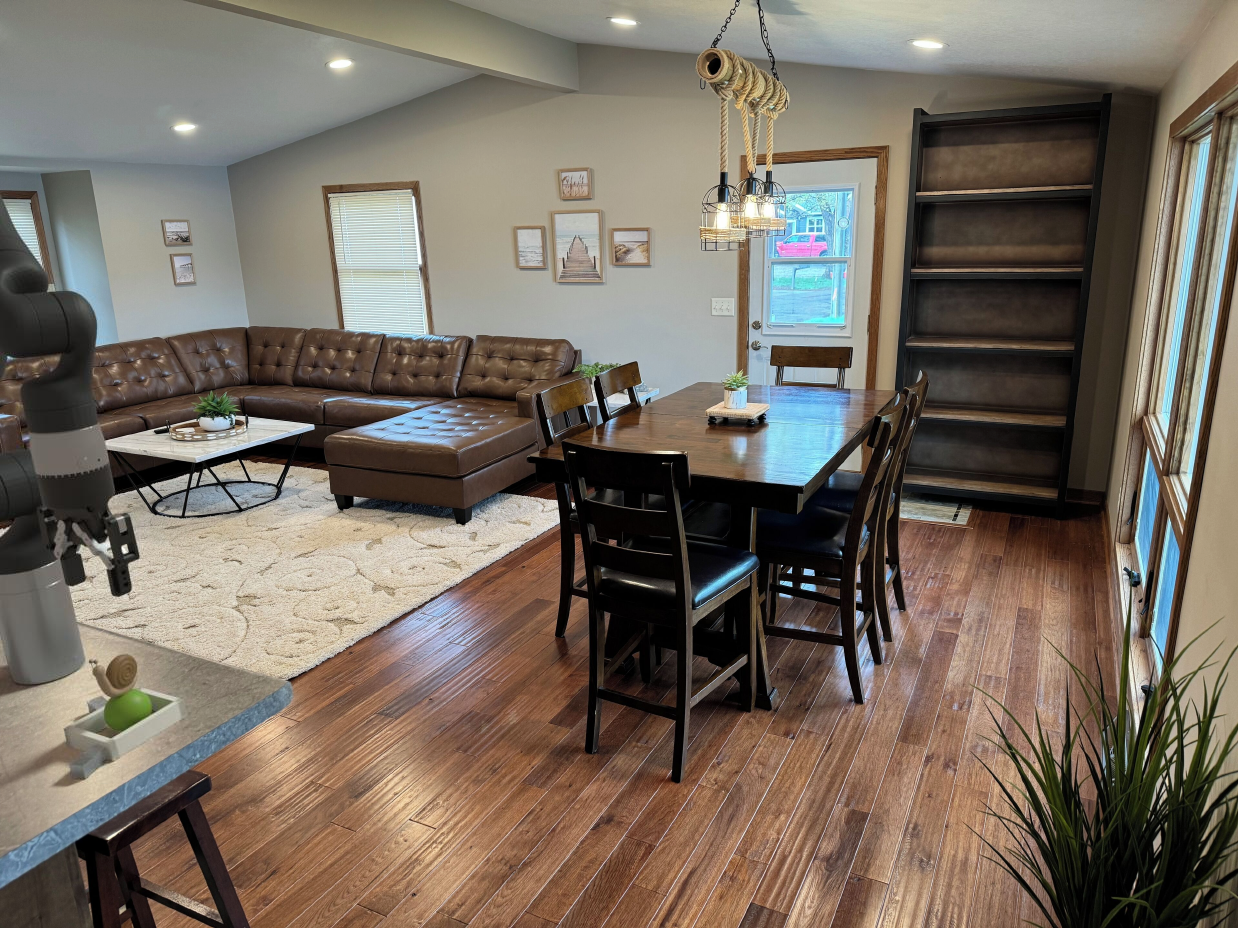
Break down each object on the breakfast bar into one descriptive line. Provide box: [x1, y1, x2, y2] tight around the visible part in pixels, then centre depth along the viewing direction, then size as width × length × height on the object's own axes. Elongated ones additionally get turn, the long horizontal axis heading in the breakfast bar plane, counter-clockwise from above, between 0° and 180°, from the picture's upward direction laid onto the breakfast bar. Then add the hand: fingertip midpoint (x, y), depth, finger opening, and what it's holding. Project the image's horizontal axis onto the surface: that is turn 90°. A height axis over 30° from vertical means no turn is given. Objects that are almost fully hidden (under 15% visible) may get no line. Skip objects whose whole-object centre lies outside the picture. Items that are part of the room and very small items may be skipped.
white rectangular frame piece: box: [63, 686, 188, 780], centre depth 109 cm, size 13×15×2 cm
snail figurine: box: [88, 653, 153, 733], centre depth 109 cm, size 5×6×12 cm
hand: (98, 588), depth 105 cm, fingers open, 8 cm apart
